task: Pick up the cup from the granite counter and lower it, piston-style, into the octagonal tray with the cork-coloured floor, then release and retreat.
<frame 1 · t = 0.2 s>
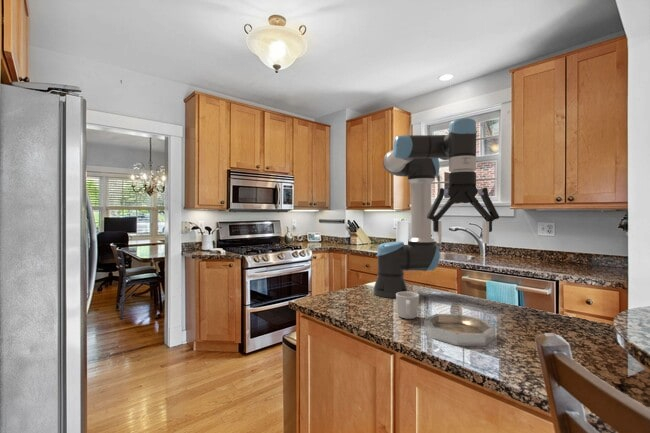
hand: (462, 243, 97), 27 cm above the worktop, fingers open, 13 cm apart
cup: (407, 318, 112), on the worktop
octagonal tray: (458, 333, 97), on the worktop
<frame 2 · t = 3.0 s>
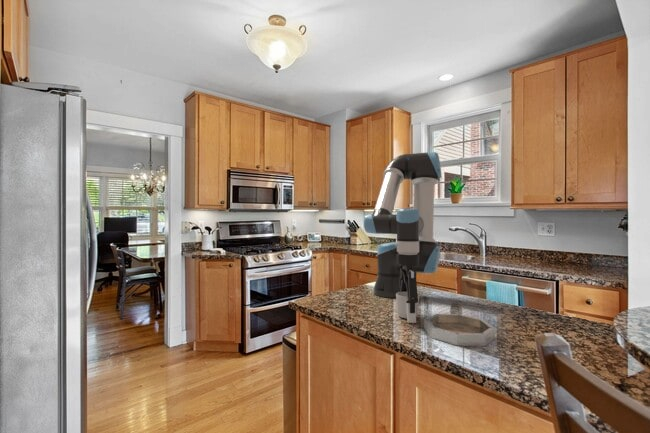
hand: (407, 316, 112), 0 cm above the worktop, fingers closed on cup, 11 cm apart
cup: (407, 318, 112), on the worktop, touching gripper
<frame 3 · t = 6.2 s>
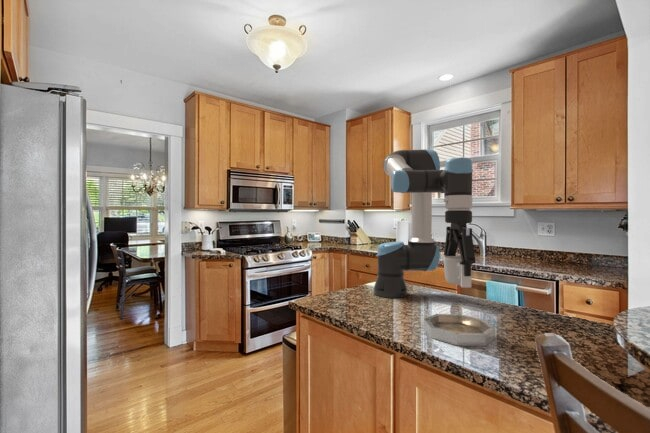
hand: (458, 283, 97), 15 cm above the worktop, fingers closed on cup, 11 cm apart
cup: (458, 285, 97), point 15 cm above the worktop, touching gripper
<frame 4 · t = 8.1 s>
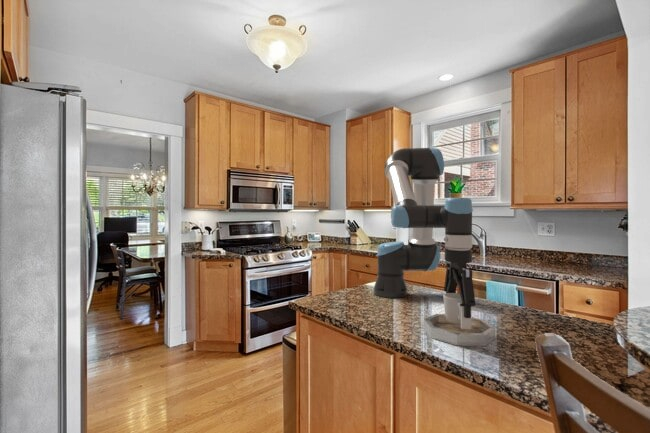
hand: (458, 321, 97), 4 cm above the worktop, fingers closed on cup, 11 cm apart
cup: (458, 324, 97), point 3 cm above the worktop, touching gripper
when the fingers open (2 cm above the worktop, at t = 9.4 s): cup drops 1 cm, resting on octagonal tray.
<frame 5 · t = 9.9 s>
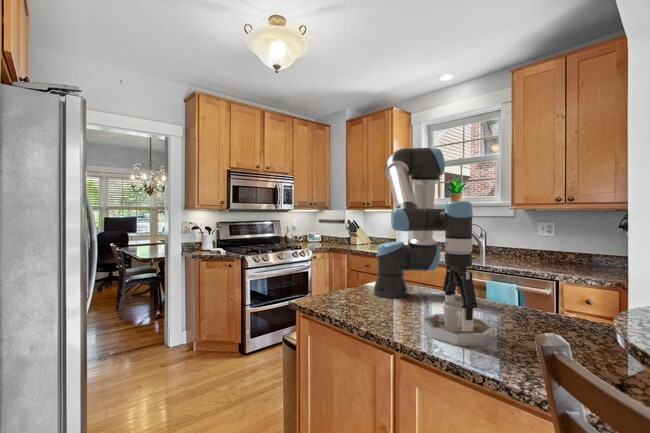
hand: (458, 322, 97), 3 cm above the worktop, fingers open, 13 cm apart
cup: (457, 332, 98), resting on octagonal tray
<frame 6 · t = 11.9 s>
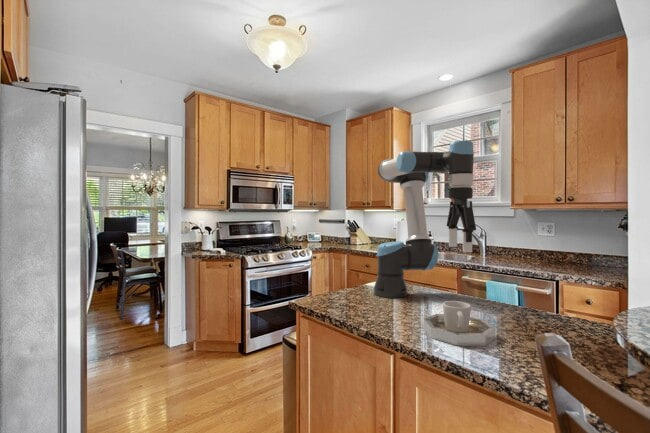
hand: (459, 249, 111), 24 cm above the worktop, fingers open, 13 cm apart
nothing on the worktop moved.
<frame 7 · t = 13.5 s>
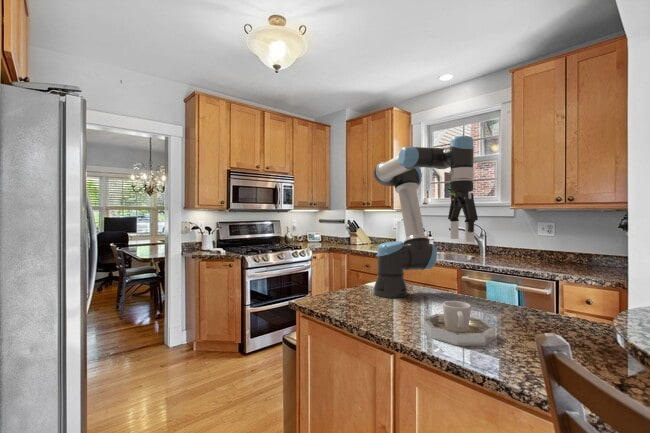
hand: (461, 240, 115), 27 cm above the worktop, fingers open, 13 cm apart
nothing on the worktop moved.
at the end: cup inside the target area on the octagonal tray (0.2 cm from its centre), point 0.2 cm above the octagonal tray's base; cup tilted 0°; the gripper is holding nothing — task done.
